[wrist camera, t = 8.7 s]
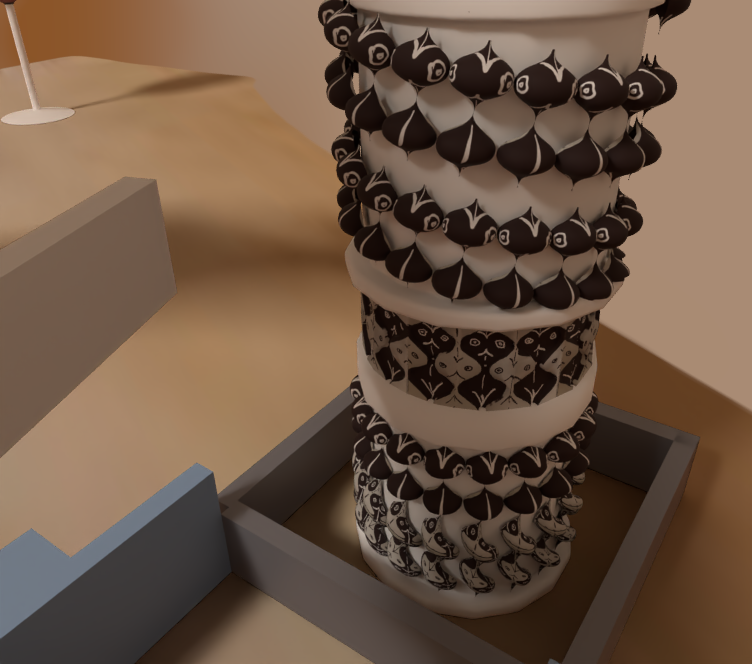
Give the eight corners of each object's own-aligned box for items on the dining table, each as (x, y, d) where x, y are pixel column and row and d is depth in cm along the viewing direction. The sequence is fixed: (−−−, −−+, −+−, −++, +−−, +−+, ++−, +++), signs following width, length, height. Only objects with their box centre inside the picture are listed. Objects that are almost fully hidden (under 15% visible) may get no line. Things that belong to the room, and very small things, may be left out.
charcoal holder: (556, 779, 20) (570, 720, 18) (216, 561, 26) (204, 504, 25) (684, 492, 29) (700, 437, 27) (409, 385, 36) (410, 336, 34)
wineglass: (-9, 113, 85) (-72, -97, 74) (73, 102, 89) (25, -99, 78) (-1, 129, 79) (-69, -98, 67) (86, 117, 83) (36, -100, 71)
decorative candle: (396, 428, 33) (397, -255, 20) (597, 482, 30) (758, -292, 17) (304, 575, 26) (209, -341, 13) (555, 666, 23) (777, -435, 9)
